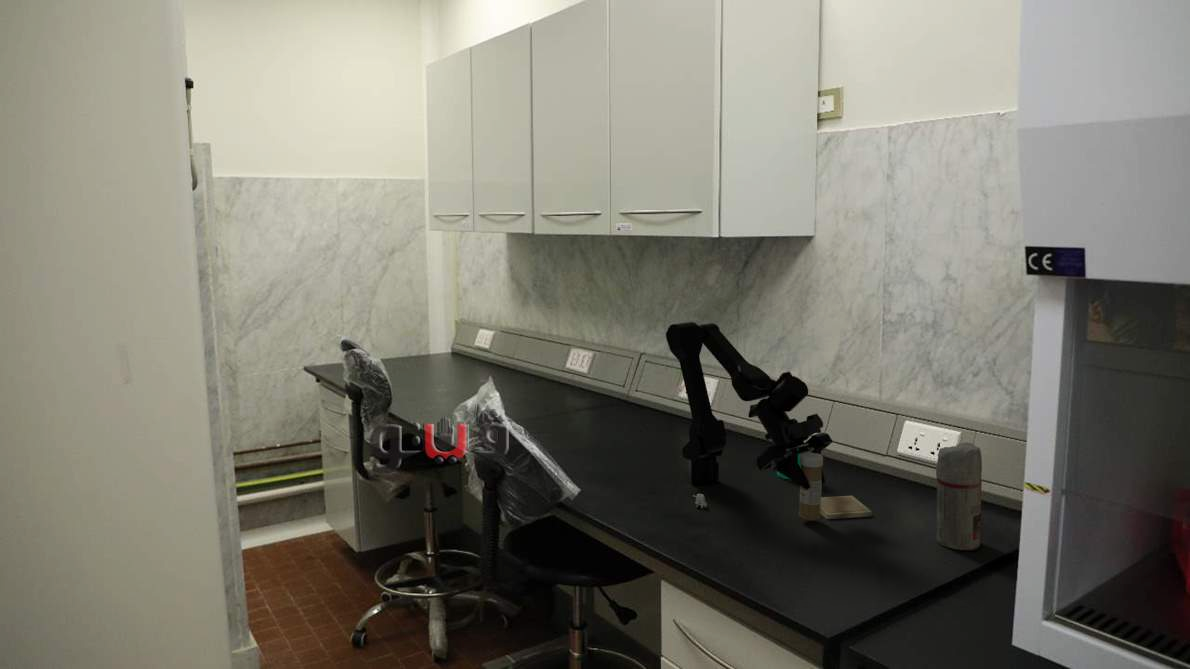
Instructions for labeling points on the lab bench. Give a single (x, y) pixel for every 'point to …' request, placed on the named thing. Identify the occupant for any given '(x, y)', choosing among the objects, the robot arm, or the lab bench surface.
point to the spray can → (959, 496)
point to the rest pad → (843, 507)
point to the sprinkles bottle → (811, 486)
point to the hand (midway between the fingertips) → (816, 486)
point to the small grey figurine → (700, 500)
